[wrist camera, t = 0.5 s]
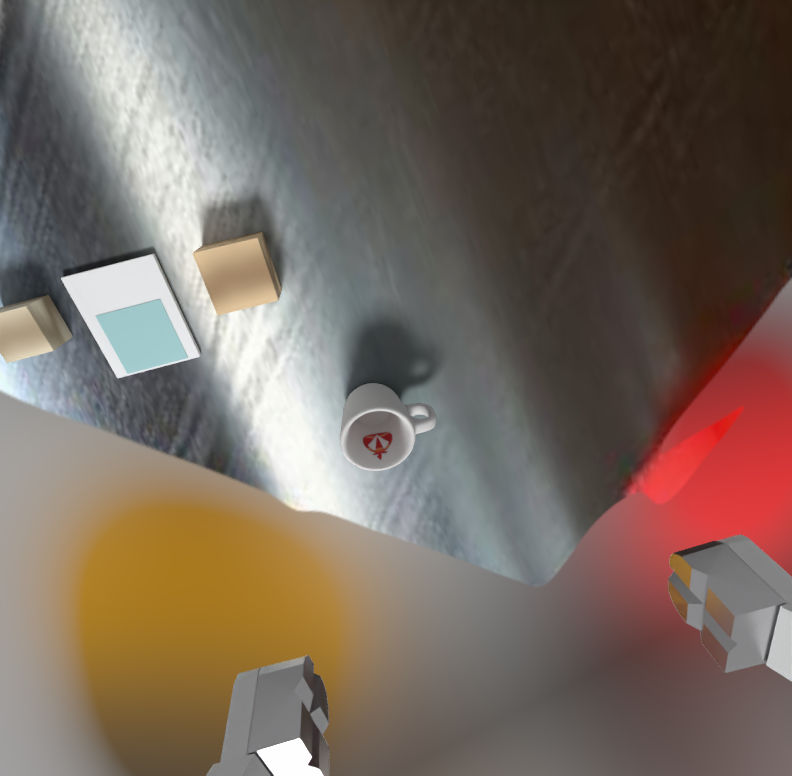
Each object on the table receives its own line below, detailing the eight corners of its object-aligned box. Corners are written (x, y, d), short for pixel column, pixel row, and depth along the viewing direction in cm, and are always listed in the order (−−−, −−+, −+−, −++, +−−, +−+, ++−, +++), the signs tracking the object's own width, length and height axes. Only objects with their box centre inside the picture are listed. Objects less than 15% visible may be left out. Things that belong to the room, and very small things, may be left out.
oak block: (202, 245, 46) (192, 253, 42) (262, 231, 46) (257, 237, 43) (225, 303, 49) (217, 315, 45) (281, 289, 49) (278, 300, 45)
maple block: (4, 306, 46) (-23, 318, 42) (49, 294, 46) (25, 306, 42) (30, 347, 48) (7, 362, 44) (73, 336, 48) (53, 350, 45)
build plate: (63, 276, 45) (60, 278, 45) (154, 253, 45) (152, 254, 45) (119, 375, 50) (117, 378, 50) (201, 354, 51) (199, 356, 50)
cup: (425, 366, 55) (440, 397, 48) (429, 424, 58) (443, 461, 51) (333, 379, 54) (334, 413, 47) (343, 437, 58) (345, 477, 50)
